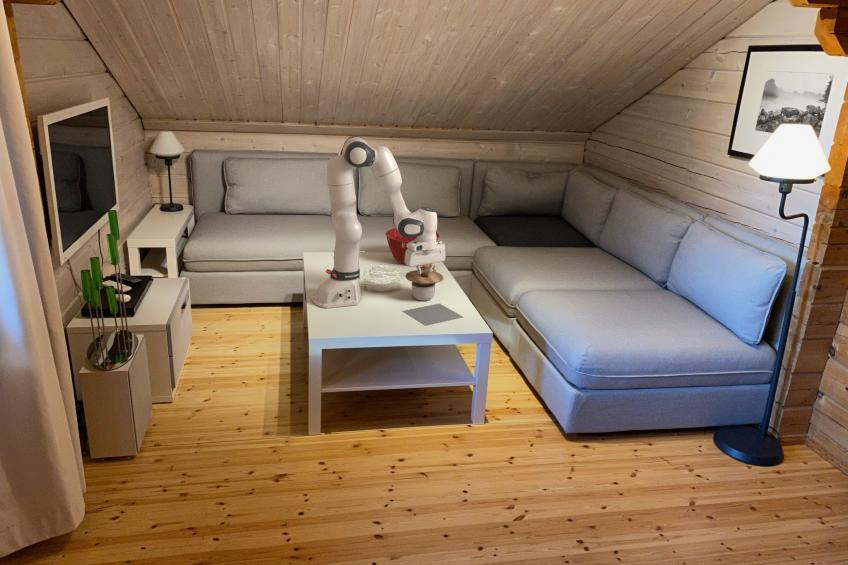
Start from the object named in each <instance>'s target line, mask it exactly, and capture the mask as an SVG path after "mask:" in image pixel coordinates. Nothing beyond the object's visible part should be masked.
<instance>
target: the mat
mask: <svg viewBox="0 0 848 565" xmlns="http://www.w3.org/2000/svg"><path fill="white" fill-rule="evenodd" d="M402 312H403V313H404V314H406V315H407V316H409V317H411V319H414V320H416V321H417V322H418V323H420V324H421V325H423V326H425V327H426V326H431V325H434V324H435V325H436V324H439V323H444V322H451V321H454V320H458V319H462V318H464V316H463V315H461V314H460V313H457V312H455V311H454V310H452V309H451V308H449V307H447V306H445V305H443V304H442V303H436V304H431V305H430V304H429V305H424V306H421V307H415V308H410V309H406V310H402Z"/></svg>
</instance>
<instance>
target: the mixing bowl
mask: <svg viewBox="0 0 848 565" xmlns="http://www.w3.org/2000/svg"><path fill="white" fill-rule="evenodd" d="M385 237H386V241H387V244H388V247H389V250H390V253H391V254H392V257H393V258H394V260H396V261H397V262H398V263H400V264H402V265H406V264H405V253H406V250H407V249H408V248H407V243H409V242H411V241H413V240H415V239H416V238H417V237H412V238H405V237H403V236H401V235H400V233H399V232H398V230H397V229H396V228H395V227H394V228H391V229H388V230H386V231H385ZM436 237H437V238H436V242H439V241H438V240H439V238H440V234H439V233H438V232H437V231H436ZM406 266H407V265H406Z"/></svg>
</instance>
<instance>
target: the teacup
mask: <svg viewBox="0 0 848 565" xmlns="http://www.w3.org/2000/svg"><path fill="white" fill-rule="evenodd" d="M411 293H412V297H413V298H414V299H416V300H417V301H421V302H428V301H430V300H432V299H433V298H434V297H435V294H436V283H435V284H419V283H414V282H411Z"/></svg>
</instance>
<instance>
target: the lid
mask: <svg viewBox="0 0 848 565" xmlns="http://www.w3.org/2000/svg"><path fill="white" fill-rule="evenodd" d="M421 270H423V273H422V274H418V269H417V270H411V271H409V272H406V274H405V278H406V280H407V281H409V282H411V283H412V282H414V283H419V284H435V285H436V284H438V283H441V282H442V281H444V276H443V275H442V274H441V273H440V272H437V271H436V272H434V271H433V270H432V271H431V272H430V273H429V267H421Z"/></svg>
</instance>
